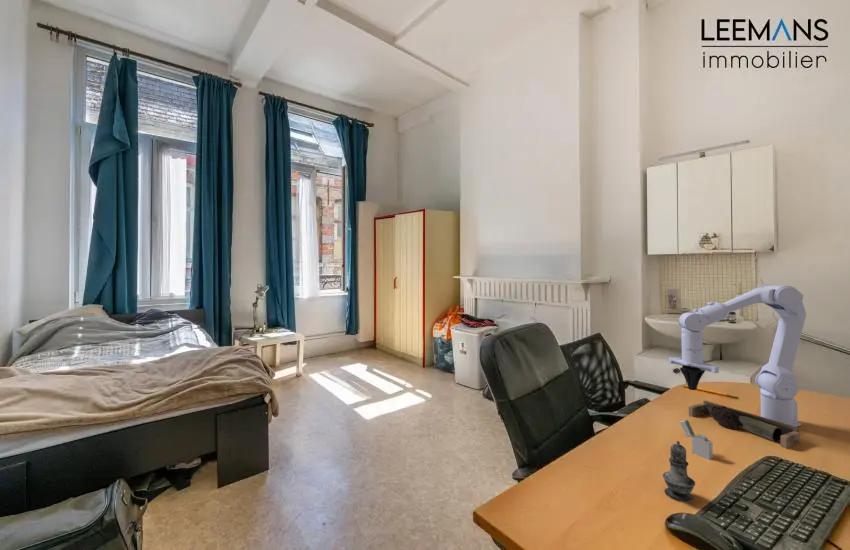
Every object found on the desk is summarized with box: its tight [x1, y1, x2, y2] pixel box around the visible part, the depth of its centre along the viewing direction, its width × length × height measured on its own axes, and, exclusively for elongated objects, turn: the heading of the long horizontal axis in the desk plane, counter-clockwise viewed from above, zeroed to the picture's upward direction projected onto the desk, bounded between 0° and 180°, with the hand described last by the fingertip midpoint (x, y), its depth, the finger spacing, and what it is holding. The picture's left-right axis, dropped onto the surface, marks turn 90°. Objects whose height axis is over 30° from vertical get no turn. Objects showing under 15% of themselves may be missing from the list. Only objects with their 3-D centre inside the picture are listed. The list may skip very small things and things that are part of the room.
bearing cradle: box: [688, 400, 801, 449], centre depth 111 cm, size 8×25×4 cm, turn 22°
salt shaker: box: [662, 440, 696, 504], centre depth 79 cm, size 6×6×12 cm
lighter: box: [679, 419, 714, 460], centre depth 97 cm, size 7×2×8 cm, turn 27°
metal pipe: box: [708, 405, 783, 443], centre depth 110 cm, size 18×7×6 cm, turn 19°
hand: (692, 389), depth 120 cm, fingers closed
